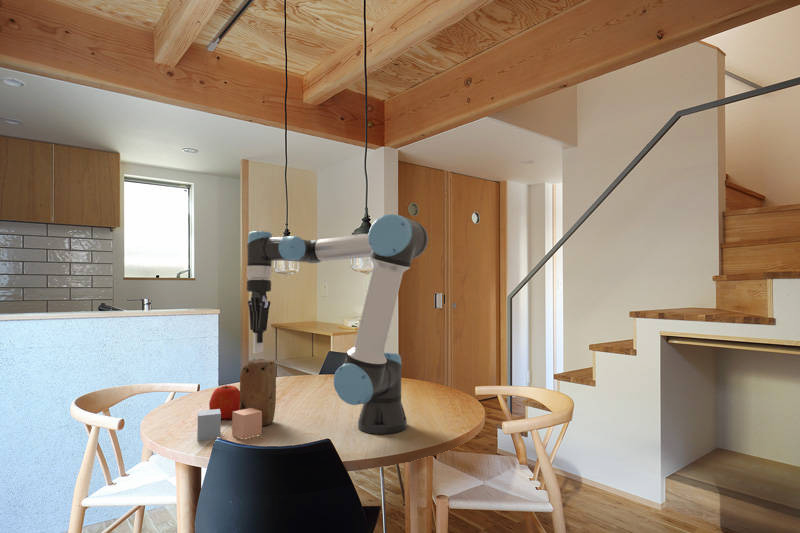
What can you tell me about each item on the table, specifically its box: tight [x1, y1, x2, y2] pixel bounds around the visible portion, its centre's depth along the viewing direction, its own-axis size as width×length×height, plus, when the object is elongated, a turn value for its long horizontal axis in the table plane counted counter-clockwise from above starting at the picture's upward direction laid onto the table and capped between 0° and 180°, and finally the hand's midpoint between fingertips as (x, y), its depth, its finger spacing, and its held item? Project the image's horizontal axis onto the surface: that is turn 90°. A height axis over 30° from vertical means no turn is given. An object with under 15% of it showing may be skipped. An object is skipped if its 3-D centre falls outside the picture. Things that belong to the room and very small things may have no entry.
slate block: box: [196, 409, 222, 442], centre depth 136 cm, size 6×6×7 cm
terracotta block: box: [231, 408, 263, 439], centre depth 137 cm, size 6×6×7 cm
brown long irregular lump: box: [239, 358, 277, 427], centre depth 149 cm, size 11×8×20 cm
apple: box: [208, 385, 240, 420], centre depth 157 cm, size 11×11×11 cm
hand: (257, 352), depth 150 cm, fingers closed
